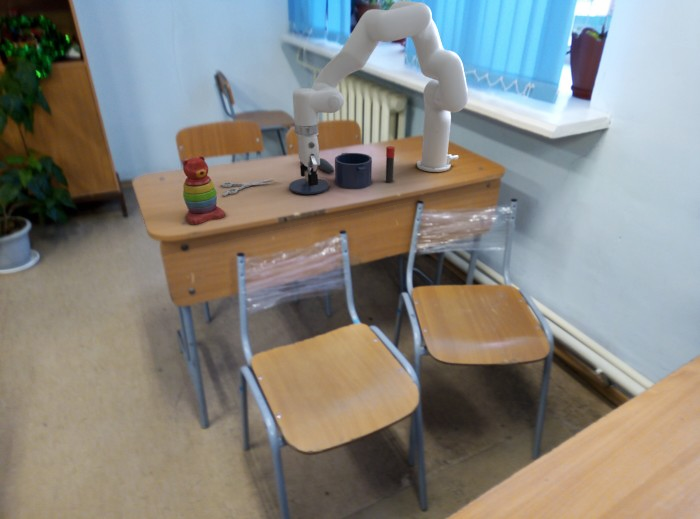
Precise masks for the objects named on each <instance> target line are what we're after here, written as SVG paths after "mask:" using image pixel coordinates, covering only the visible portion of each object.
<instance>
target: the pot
mask: <svg viewBox="0 0 700 519" xmlns="http://www.w3.org/2000/svg"><path fill="white" fill-rule="evenodd" d="M372 163H373V159H372V157H371V156H370V155H368V154H365V153H362V152H361V153H360V152H341V154H338V155H336V156H335V157H334V183H335V185H336V186H338V187H340V188H343V189H349V190H351V189H352V190H353V189H354V190H356V189H363V188H367V187H369V186H370V185H371V184H372V174H373V173H372V170H373V169H372V167H373V166H372V165H373V164H372Z"/></svg>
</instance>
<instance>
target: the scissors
mask: <svg viewBox="0 0 700 519" xmlns="http://www.w3.org/2000/svg"><path fill="white" fill-rule="evenodd" d="M270 180H272V178H269V179H265V180H261V181H260V180H259V181H255V182H245V183H239V182H236V183H234V182H231V181H225V182H222V183H221V187H223V188H229V189H227V190H226V192H224V193H222V197H225V196H227V195H233V194H237V192H238V191H240V190H243V189H244V188H248V187H252V186H257V185H269V182H268V181H270ZM275 183H277V182H276V181H274V182H270V184H275ZM235 186H239V187H236V188H234V187H235ZM230 187H233V188H230Z"/></svg>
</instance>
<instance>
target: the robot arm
mask: <svg viewBox="0 0 700 519" xmlns="http://www.w3.org/2000/svg"><path fill="white" fill-rule="evenodd" d="M407 38H411V41H412V43H413V47H414V49H415V53H416V58H417V61H418V65H419V69H420V72H421V73H422V75H423V76H424V77H426V78H429V79H431V80H429V81H428V82H427V83H426V84H425V86H424V88H423V106H424V107H423V108H424V119H423V131H422V143H421V144H422V146H421V148H422V149H421V159H420V160H418V161H417V162H416V167H417V168H418V169H419V170H421V171H424V172H431V173H440V172H441V173H442V172H446V171H449V170H450V169H451V163H450V162H452V161H453V162H454V161H458V160H459V155H458V154H457V155H456V154H454V155H452V153H450V154H448V153H449V143H450V133H451V124H452V114H451V113H458V112H460V111H462V110H463V109H464V108H465V107H466V105H467V103H468V99H469V90H468V84H467V78H466V73H465V70H464V64H463V61H462V59H461V57H460V56H459V55H458V54H457V53H456V52H455V51H452V50H448V49H445V48H444V46H443V43H442V41H441V37H440V33H439V30H438V27H437V25H436V22H435V20H433V13H432V10H431V8H430V7H429V5H427V4H426V3H424V2H419V1H410V0H399V1H396V2H394V3H392V4H391V6H390V7H389V9H376V8H375V9H374V8H373V9H368V10H366V11H365V12H364V13H363V14H362V15H361V17H360V18H359V20H358V22H357V24H355V27H354V28H353V30H352V31H351V33H350V35H349V37H348V39H347V40H346V41H345V43H344V45H343V46H342V48H341V49H340V51H339V52H338V53H336V54H335V56H333V57H332V58H331V60H329V61H328V62H327V63H326V64H325V65H324V66H323V68H322V69H321V70H320V72H319V73H318V75H317V77H316V78H315V79H314V81H313V84H312V85H311V87H301V88H296V89H294V90H293V92H292V107H293V121H294V122H293V123H294V124H293V125H294V136H297V154H298V159H299V169H300V170H299V171H300V176H301V177H305V170H308V172H309V174H308V185H309V186H313V185H318V178H319V176H318V175H319V172H318V169H319V168H318V166H319V165H320V158H321V156H320V146H319V140H318V135H319V134H320V133H319V113H325V114H333V113H337V112H339V111H340V110H342V108H343V106H344V101H345V100H344V95H343V94H342V92H341V91H340V90H339V89H337V87H338V86H339V84H340V83H341V82H342V81H343V80H344V79H345V78H346V77H347V76H349V75H351V74H352V73H356V72H357V71H359V70H362V69H363V68H364V67H365V65H366V64H367V62H368V60H369V59H370V57H371V56H372V54H373V53H374V51H375V49H376V47H377V46H378V44H379V43H380V42H382V43H390V42H395V41H399V40H402V39H403V40H404V39H407ZM317 165H318V166H317Z"/></svg>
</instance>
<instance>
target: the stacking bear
mask: <svg viewBox="0 0 700 519" xmlns="http://www.w3.org/2000/svg"><path fill="white" fill-rule="evenodd" d="M205 160H206V159H205V157H204V156H202V155H201V156H198V157H189V158H187V159H184V160H183V161H182V169H183V173H184V175H185V176H186V179H185V180H184V183H183V184H182V185H183V186H182V187H183V189H182V190H183V191H182V196H183V200H184V204H185V205H186V207H187V210H188V211H187V213H186V220H187V222H188V223H189V224H191V225H200V224H203V223H204V222H206V221H210V220H220V219H223V218H224V217H226V212H225V211H224V209H222V208H221V207H219V206H217V204H218V203H217V202H218V201H217V200H218V199H217V198H218V196H217V194H218V193H217V189H216V187H215V185H214V182H213V181H212V178H211V177H210V176H209V175H208V174H209V165H208V164H207V162H206V161H205Z"/></svg>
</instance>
